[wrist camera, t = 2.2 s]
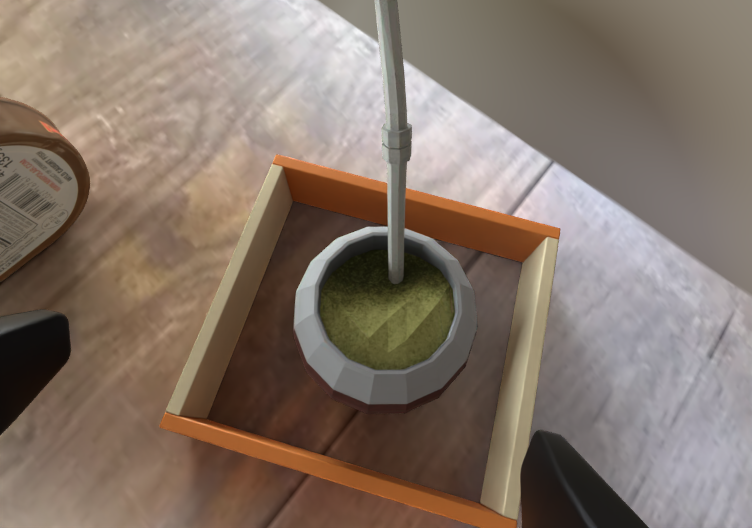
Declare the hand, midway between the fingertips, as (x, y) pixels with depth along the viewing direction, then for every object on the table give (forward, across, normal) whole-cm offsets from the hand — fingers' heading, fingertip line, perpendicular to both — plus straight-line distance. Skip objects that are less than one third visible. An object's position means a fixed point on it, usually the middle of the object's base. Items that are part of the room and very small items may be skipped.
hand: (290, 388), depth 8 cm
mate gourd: (+13, -1, +6) cm, 15 cm away
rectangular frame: (+13, -1, +6) cm, 14 cm away
